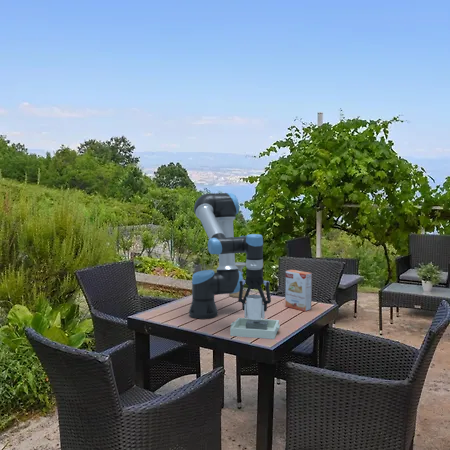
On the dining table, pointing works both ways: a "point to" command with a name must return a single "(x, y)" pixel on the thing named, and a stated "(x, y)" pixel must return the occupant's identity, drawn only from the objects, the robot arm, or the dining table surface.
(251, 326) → the block
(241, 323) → the tray
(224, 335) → the dining table surface
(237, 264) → the candle holder
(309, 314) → the dining table surface
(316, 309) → the dining table surface
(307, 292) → the cracker box
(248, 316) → the white cup
